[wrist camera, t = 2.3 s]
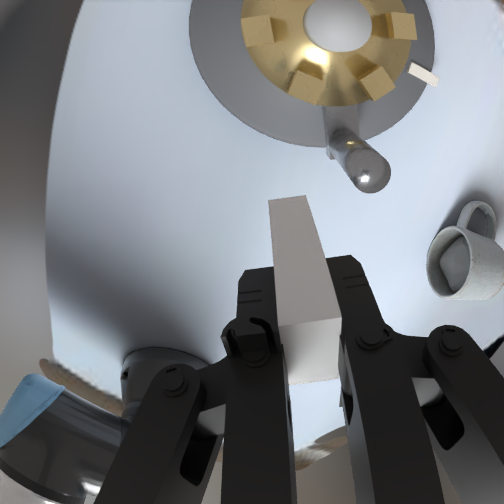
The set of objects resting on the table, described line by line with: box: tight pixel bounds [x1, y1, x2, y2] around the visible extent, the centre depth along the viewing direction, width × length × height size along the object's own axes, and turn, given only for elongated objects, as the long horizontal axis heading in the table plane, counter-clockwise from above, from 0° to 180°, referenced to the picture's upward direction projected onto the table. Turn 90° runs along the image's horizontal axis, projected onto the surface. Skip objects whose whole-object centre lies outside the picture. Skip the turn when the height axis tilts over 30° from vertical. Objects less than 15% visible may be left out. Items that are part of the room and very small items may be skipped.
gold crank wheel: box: [241, 0, 417, 193], centre depth 17 cm, size 16×12×9 cm
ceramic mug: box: [426, 201, 504, 300], centre depth 29 cm, size 11×8×8 cm
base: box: [189, 0, 439, 147], centre depth 18 cm, size 20×20×7 cm
